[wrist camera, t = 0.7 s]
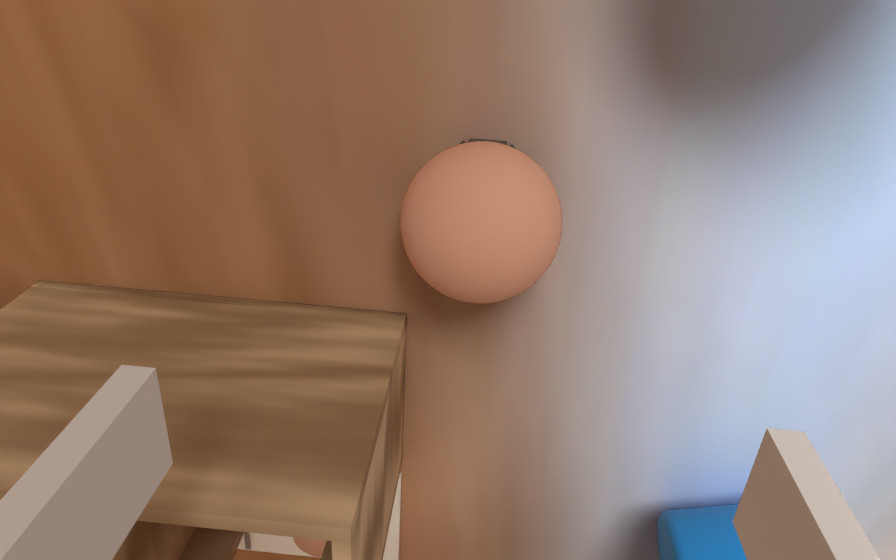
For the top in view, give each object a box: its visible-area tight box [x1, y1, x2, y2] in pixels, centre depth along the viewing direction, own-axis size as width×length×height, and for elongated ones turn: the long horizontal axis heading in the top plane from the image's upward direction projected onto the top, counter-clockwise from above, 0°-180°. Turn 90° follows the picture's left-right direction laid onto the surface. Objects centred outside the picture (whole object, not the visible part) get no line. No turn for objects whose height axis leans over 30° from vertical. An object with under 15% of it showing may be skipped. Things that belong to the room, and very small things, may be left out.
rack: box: [0, 281, 407, 560], centre depth 28 cm, size 9×18×13 cm, turn 87°
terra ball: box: [400, 141, 562, 304], centre depth 25 cm, size 6×6×6 cm
